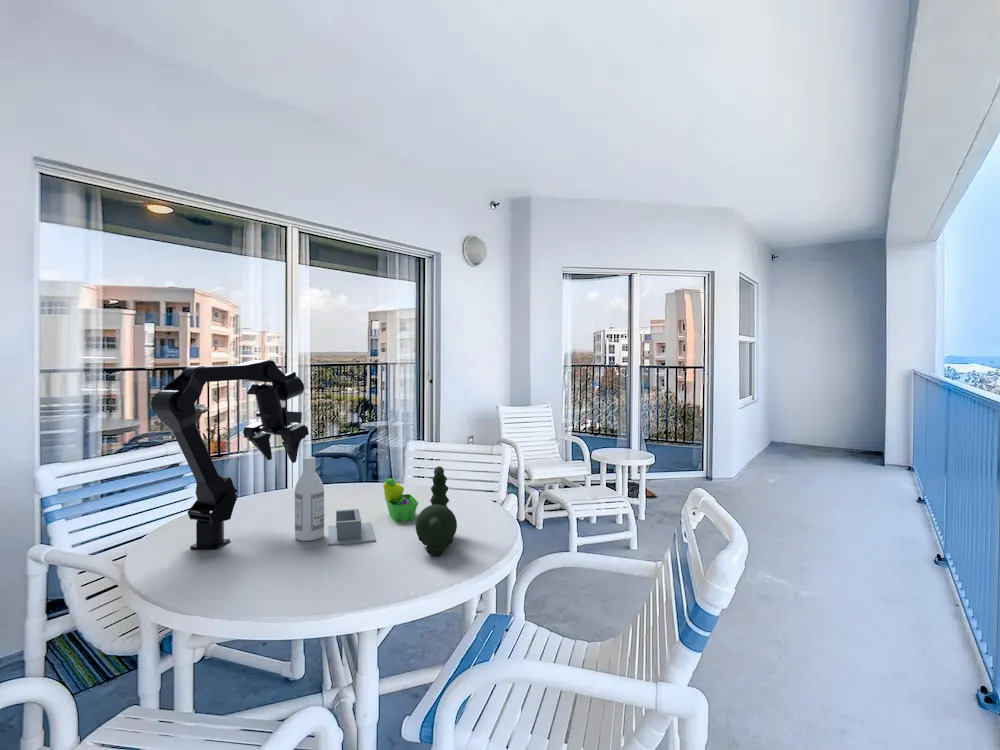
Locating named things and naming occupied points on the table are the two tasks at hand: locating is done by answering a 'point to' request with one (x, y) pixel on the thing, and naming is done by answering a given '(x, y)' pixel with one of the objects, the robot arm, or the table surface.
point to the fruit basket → (399, 501)
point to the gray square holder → (349, 529)
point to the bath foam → (309, 503)
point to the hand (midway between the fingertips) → (281, 461)
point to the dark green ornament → (437, 518)
